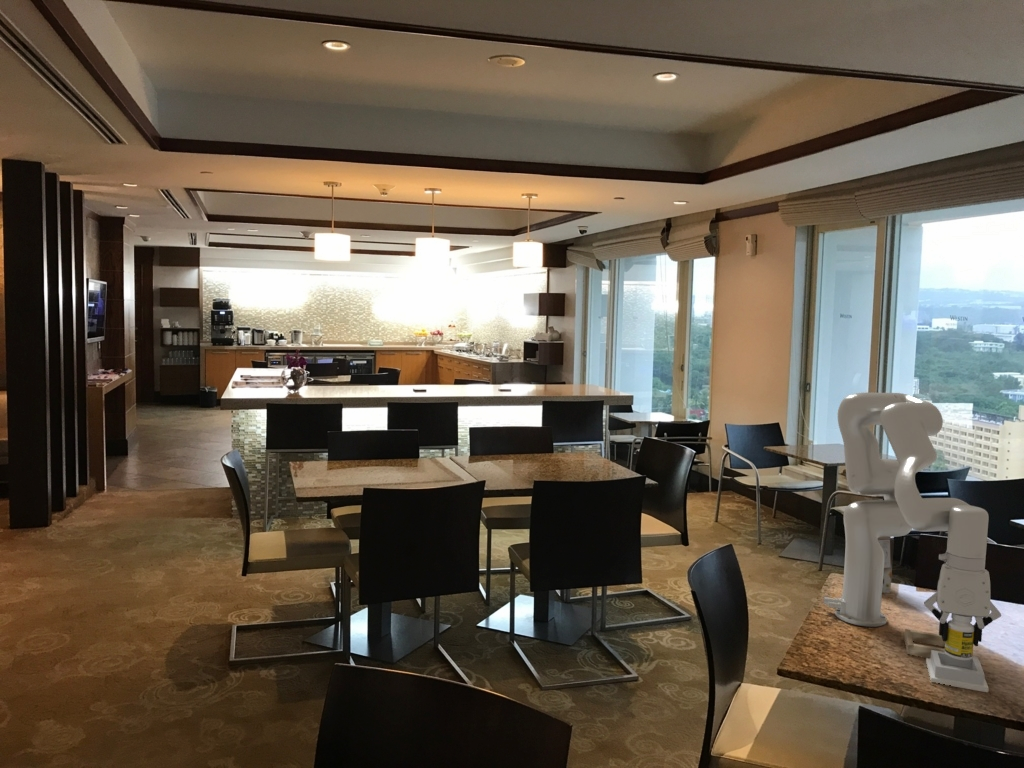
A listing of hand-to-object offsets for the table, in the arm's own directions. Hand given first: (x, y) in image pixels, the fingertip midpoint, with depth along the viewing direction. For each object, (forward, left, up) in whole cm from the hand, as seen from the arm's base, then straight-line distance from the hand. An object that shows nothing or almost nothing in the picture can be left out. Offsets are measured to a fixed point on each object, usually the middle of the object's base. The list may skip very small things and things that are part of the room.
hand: (959, 640), depth 178 cm
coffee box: (-15, +57, -9) cm, 59 cm away
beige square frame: (-4, +14, -8) cm, 17 cm away
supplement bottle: (0, 0, -4) cm, 4 cm away
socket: (0, 0, -8) cm, 8 cm away
